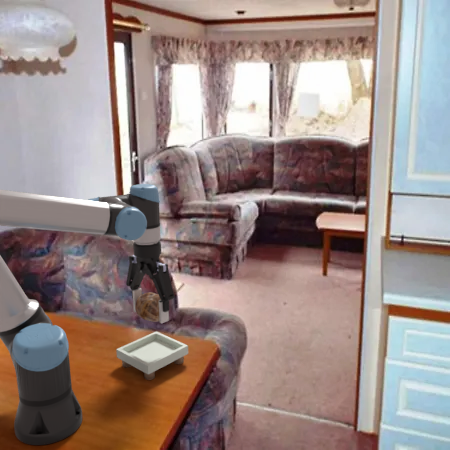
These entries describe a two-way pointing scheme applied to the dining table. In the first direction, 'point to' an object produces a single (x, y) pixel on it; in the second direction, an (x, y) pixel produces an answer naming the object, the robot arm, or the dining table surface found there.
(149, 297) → the seashell
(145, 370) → the shallow white square tray
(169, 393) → the dining table surface
